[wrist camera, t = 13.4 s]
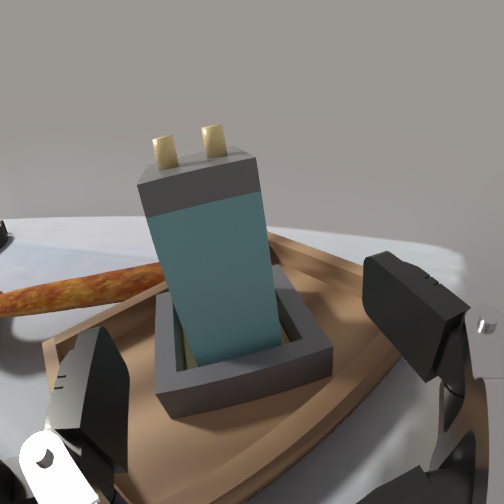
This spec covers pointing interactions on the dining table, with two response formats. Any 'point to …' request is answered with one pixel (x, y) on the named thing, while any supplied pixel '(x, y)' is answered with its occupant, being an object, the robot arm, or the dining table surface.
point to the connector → (213, 246)
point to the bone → (81, 291)
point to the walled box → (247, 414)
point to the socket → (239, 359)
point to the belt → (3, 234)
